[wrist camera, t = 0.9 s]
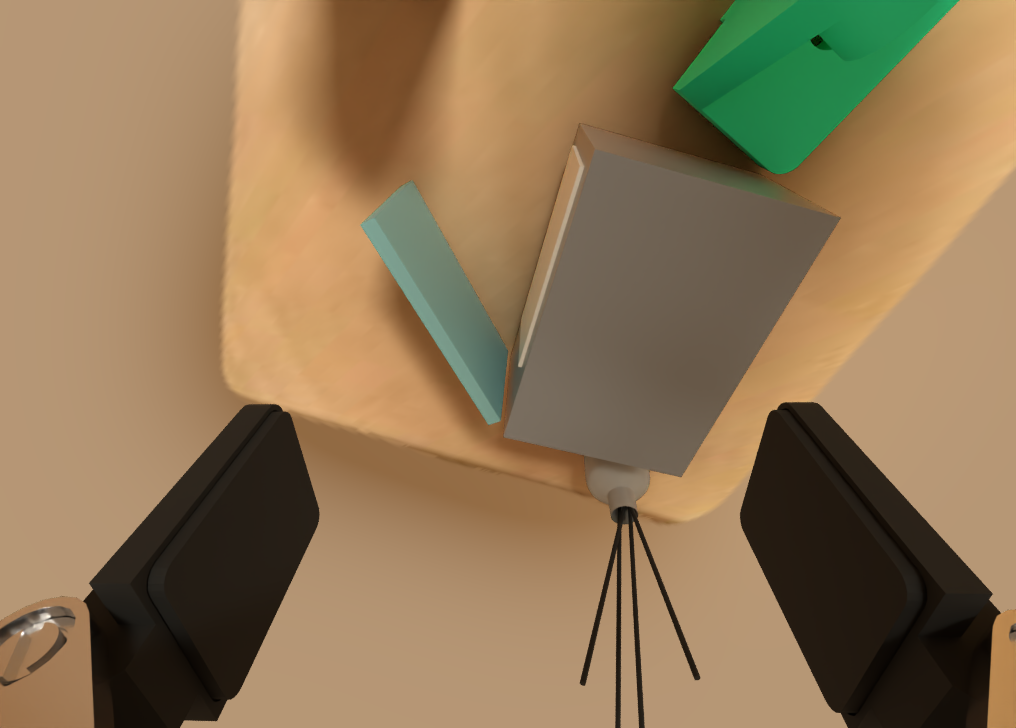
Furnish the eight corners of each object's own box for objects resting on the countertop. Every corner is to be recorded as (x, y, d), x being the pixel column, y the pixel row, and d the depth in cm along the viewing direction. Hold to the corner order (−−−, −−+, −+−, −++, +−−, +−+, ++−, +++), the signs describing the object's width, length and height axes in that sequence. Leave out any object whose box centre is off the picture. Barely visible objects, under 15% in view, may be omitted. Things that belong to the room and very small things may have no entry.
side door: (508, 350, 35) (500, 420, 28) (498, 354, 35) (488, 425, 29) (412, 179, 29) (374, 217, 23) (401, 185, 29) (360, 224, 23)
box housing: (576, 122, 28) (590, 147, 20) (760, 174, 29) (840, 217, 21) (508, 356, 36) (499, 436, 28) (651, 390, 37) (681, 477, 29)
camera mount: (763, 172, 29) (861, 223, 20) (667, 87, 27) (730, 102, 18) (969, -47, 23) (1229, -108, 14) (868, -176, 21) (1099, -338, 12)
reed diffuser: (615, 486, 43) (666, 770, 26) (541, 465, 42) (542, 744, 25) (673, 398, 37) (784, 682, 20) (589, 371, 36) (632, 645, 20)
